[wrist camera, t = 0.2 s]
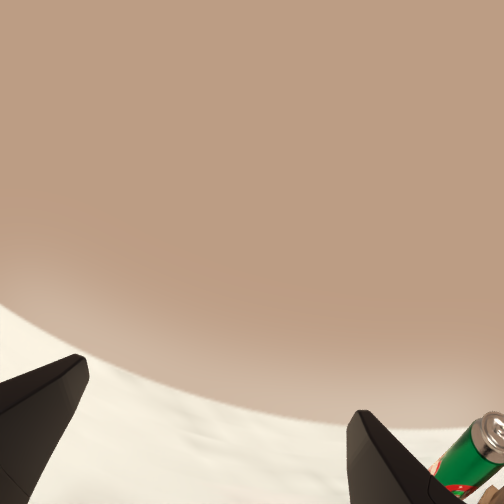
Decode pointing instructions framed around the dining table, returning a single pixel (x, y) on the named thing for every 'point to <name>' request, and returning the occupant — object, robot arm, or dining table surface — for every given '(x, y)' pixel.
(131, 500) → the dining table surface
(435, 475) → the soda can
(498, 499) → the socket block
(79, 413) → the dining table surface
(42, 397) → the robot arm
